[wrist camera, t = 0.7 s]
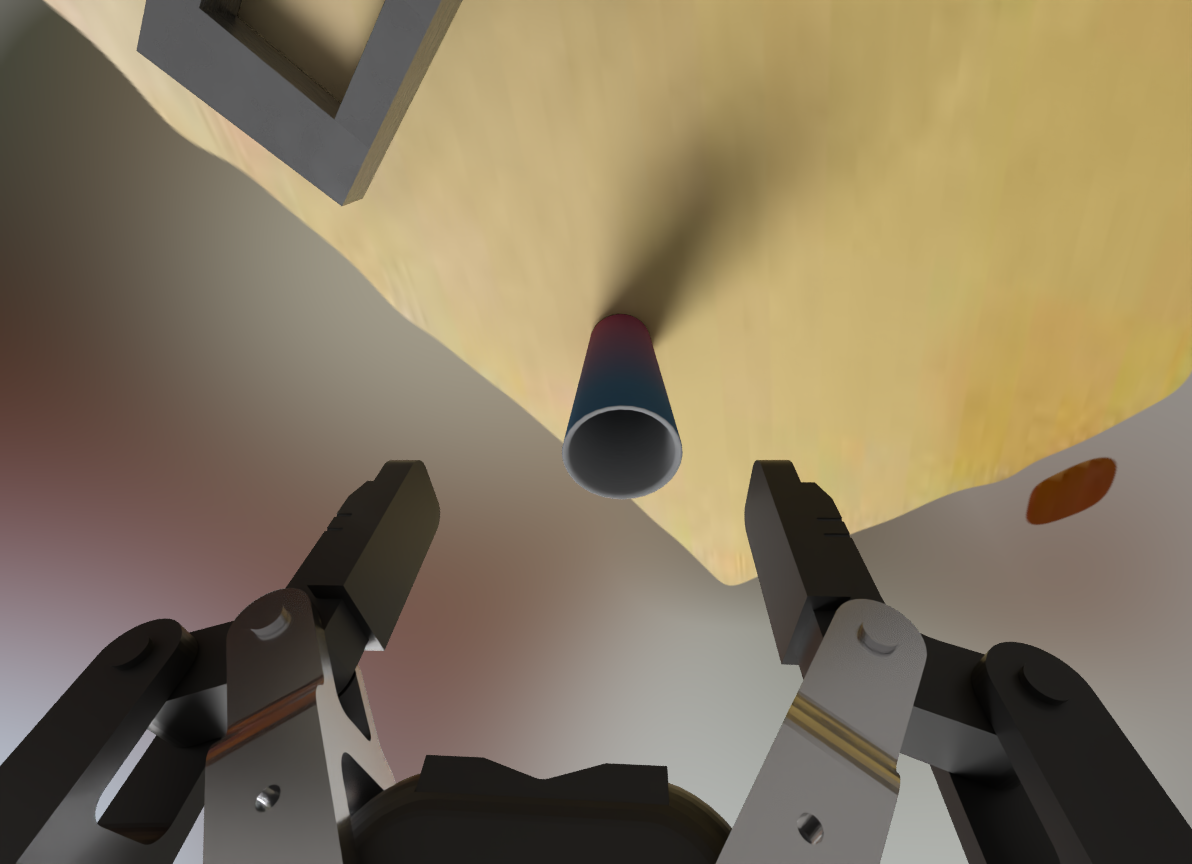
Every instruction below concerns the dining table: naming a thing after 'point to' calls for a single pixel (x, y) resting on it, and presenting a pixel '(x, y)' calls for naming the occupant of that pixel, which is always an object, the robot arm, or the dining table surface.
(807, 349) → the dining table surface
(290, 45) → the dining table surface
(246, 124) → the panel
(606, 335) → the cup
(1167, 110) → the dining table surface
